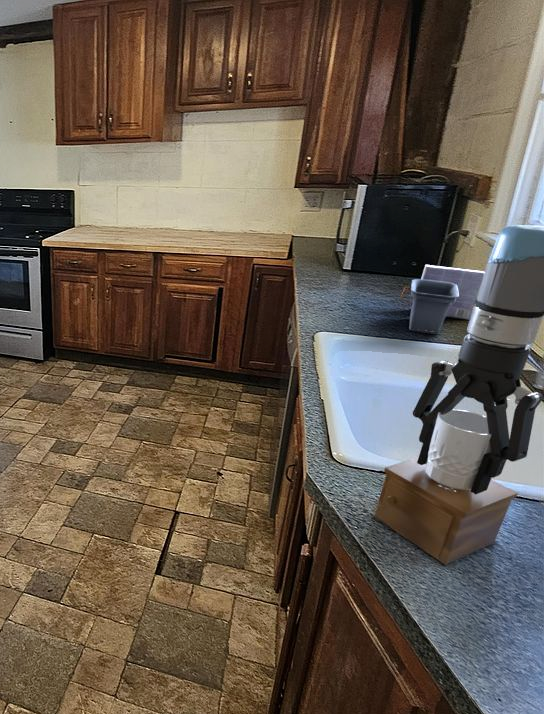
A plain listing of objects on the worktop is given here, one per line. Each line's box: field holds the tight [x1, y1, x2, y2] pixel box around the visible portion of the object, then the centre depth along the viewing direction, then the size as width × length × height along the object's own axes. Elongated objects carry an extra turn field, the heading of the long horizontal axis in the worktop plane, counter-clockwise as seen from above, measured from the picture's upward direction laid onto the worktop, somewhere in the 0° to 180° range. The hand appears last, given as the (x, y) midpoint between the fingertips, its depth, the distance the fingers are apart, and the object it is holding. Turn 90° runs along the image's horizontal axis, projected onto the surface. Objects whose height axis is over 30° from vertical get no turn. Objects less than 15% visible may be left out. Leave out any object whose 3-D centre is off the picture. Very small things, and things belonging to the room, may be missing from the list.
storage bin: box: [400, 278, 459, 335], centre depth 182 cm, size 21×16×14 cm
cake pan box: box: [420, 264, 485, 321], centre depth 194 cm, size 19×5×18 cm, turn 60°
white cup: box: [425, 408, 491, 490], centre depth 81 cm, size 8×8×10 cm
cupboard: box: [373, 456, 519, 566], centre depth 85 cm, size 13×14×10 cm
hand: (450, 475), depth 83 cm, fingers closed on white cup, 8 cm apart
